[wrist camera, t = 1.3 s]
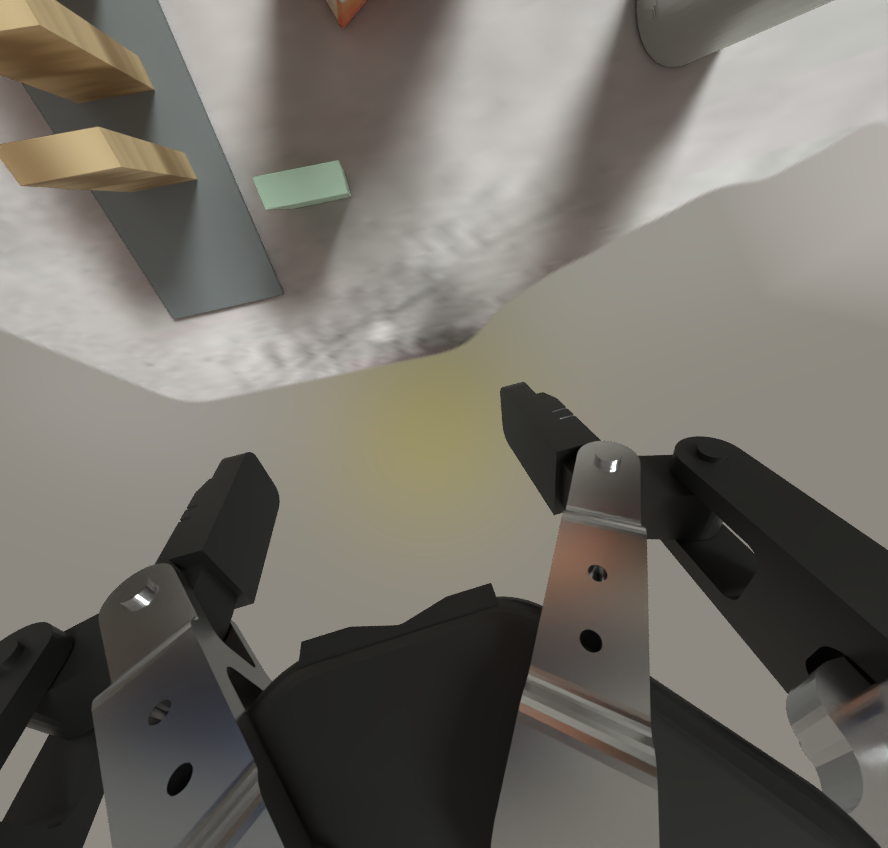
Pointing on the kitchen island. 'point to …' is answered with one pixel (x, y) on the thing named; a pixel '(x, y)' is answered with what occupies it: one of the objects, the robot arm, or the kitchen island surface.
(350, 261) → the kitchen island surface
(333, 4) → the cracker box
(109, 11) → the mat
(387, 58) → the kitchen island surface
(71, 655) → the robot arm
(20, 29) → the domino
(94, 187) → the domino
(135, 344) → the kitchen island surface
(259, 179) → the domino
